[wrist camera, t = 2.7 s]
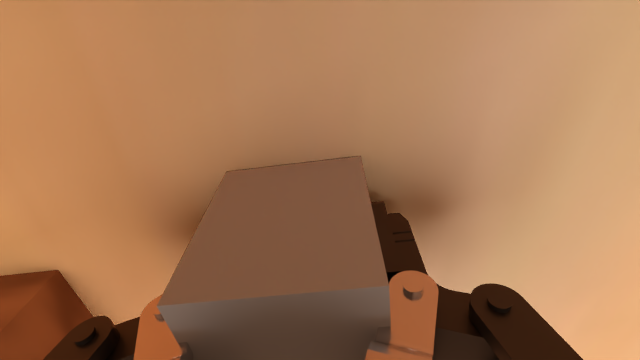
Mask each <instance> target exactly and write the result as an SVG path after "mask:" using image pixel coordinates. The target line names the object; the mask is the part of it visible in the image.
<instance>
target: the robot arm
mask: <svg viewBox="0 0 640 360" xmlns="http://www.w3.org/2000/svg"><path fill="white" fill-rule="evenodd" d="M371 206H372V210H373V215H374V219H375V224H376V229H377V233H378V238H379V242H380V247H381V251H382V256H383V260H384V265H385V269H386V274H387V278H388V283H389V294H390V318H391V326H387V327H378V330H377V334H376V338H375V340H374V341H371V342H370V344H369V347H368V350H367V354H366V357H365V360H583V359H582V358H581V357H580V356H579V355H578V354H577V353H576V352H575V351H574V350H573V349H572V348H571V347H570V346H569V344H568V343H567V342H566V341H565V340H564V339H563V338H562V337H561V336H560V335H559V334H558V333H557V332H556V331H555V330H554V329H553V328H552V327H551V326H550V325H549V324H548V323H547V322H546V321H545V320H544V319H543V318H542V317H541V316H540V315H539V314H538V313H537V312H536V311H535V310H534V309H533V308H532V307H531V305H530V304H529V303H528V302H527V301H526V300H525V299H524V298H523V297H522V296H521V295H519V294H518V293H517V292H516V291H514V290H512V289H510V288H508V287H506V286H503V285H499V284H483V285H480V286H478V287H476V288H475V289H474V290H473V291H472V293H471V294H468V293H463V292H457V291H452V290H448V289H446V288H443V287H441V286H439V285H438V284H436V283H435V281H434V280H433V279H432V278H431V277H429V276H428V274H427V272H426V269H425V267H424V264H423V261H422V258H421V256H420V253H419V250H418V247H417V244H416V242H415V239H414V236H413V233H412V231H411V228H410V225H409V222H408V221H407V220H406V219H405V218H404V217H403V216H402V215H401V214H400V213H394V214H387V212H386V208H385V205H384V202H383V201H380V202H371ZM161 297H162V295H160V296H159V297H157V298H155V299H154V300H152V301H151V302H150V303H149V304H148V305H147V306H146V307H145V308H144V310H143V311H142V313H141V316H140V317H137V318H135V319H132V320H129V321H126V322H123V323H120V324H117V325H114V324H113V322H112V321H111V320H110V318H108V317H106V316H97V317H93V318H90V319H88V320H86V321H84V322H82V323H80V324H79V325H77V326H76V327H75V328H73V329H72V330H71V331H70V332H69V333H68V334H67V335H66V336H65V337H64V338H63V339H62V340H61V341H60V342H59V343H58V344H57V345H56V346H55V347H54V348H53V349H52V350H51V352H50V353H49V354H48V355H47V356H46V357H45V358H44V359H43V360H193V352H192V350H191V348H190V346H189V345H188V343H187V342H183V343H177V341H176V339H175V337H174V336H173V334H172V332H171V330H170V329H169V327H168V325H167V323H166V322H165V320H164V318H163V316H162V315H161V313H160V311H159V309H158V308H157V304H158V302H159V300H160V299H161Z"/></svg>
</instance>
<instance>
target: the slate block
mask: <svg viewBox="0 0 640 360" xmlns="http://www.w3.org/2000/svg"><path fill="white" fill-rule="evenodd" d="M157 308H158V309H159V311H160V313H161V315H162V316H163V318H164V320H165V322H166V323H167V325H168V327H169V329H170V330H171V332H172V334H173V336H174V337H175V339H176V341H177V343H183V342H187V343H188V345H189V346H190V348H191V350H192V352H193V360H365V357H366V354H367V350H368V347H369V344H370V342H371V341H374V340H375V338H376V334H377V330H378V327H387V326H391V318H390V294H389V283H388V278H387V274H386V269H385V265H384V260H383V256H382V251H381V247H380V242H379V238H378V233H377V229H376V224H375V219H374V215H373V210H372V206H371V201H370V197H369V192H368V188H367V183H366V179H365V174H364V170H363V165H362V161H361V156H356V157H348V158H339V159H331V160H322V161H313V162H305V163H296V164H288V165H279V166H271V167H262V168H254V169H245V170H237V171H228V172H226V173H225V175H224V177H223V179H222V181H221V183H220V185H219V187H218V189H217V191H216V193H215V194H214V196H213V198H212V200H211V202H210V204H209V206H208V208H207V210H206V212H205V214H204V216H203V218H202V219H201V221H200V223H199V225H198V227H197V229H196V231H195V233H194V235H193V237H192V239H191V241H190V243H189V245H188V246H187V248H186V250H185V252H184V254H183V256H182V258H181V260H180V262H179V264H178V266H177V268H176V270H175V272H174V273H173V275H172V277H171V279H170V281H169V283H168V285H167V287H166V289H165V291H164V293H163V295H162V297H161V299H160V300H159V302H158V304H157Z"/></svg>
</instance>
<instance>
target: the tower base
mask: <svg viewBox="0 0 640 360" xmlns="http://www.w3.org/2000/svg"><path fill="white" fill-rule="evenodd" d="M90 318H93V316H92V315H91V313H90V312H89V311H88V309H87V308H86V307H85V305H84V304H83V303H82V301H81V300H80V299H79V297H78V296H77V295H76V293H75V292H74V291H73V289H72V288H71V286H70V285H69V284H68V282H67V281H66V280H65V278H64V277H63V276H62V274H61V273H60V272H59V270H53V271H44V272H34V273H25V274H15V275H6V276H0V360H43V359H44V358H45V357H46V356H47V355H48V354H49V353H50V352H51V350H52V349H53V348H54V347H55V346H56V345H57V344H58V343H59V342H60V341H61V340H62V339H63V338H64V337H65V336H66V335H67V334H68V333H69V332H70V331H71V330H72V329H73V328H75V327H76V326H77V325H79V324H80V323H82V322H84V321H86V320H88V319H90Z"/></svg>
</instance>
